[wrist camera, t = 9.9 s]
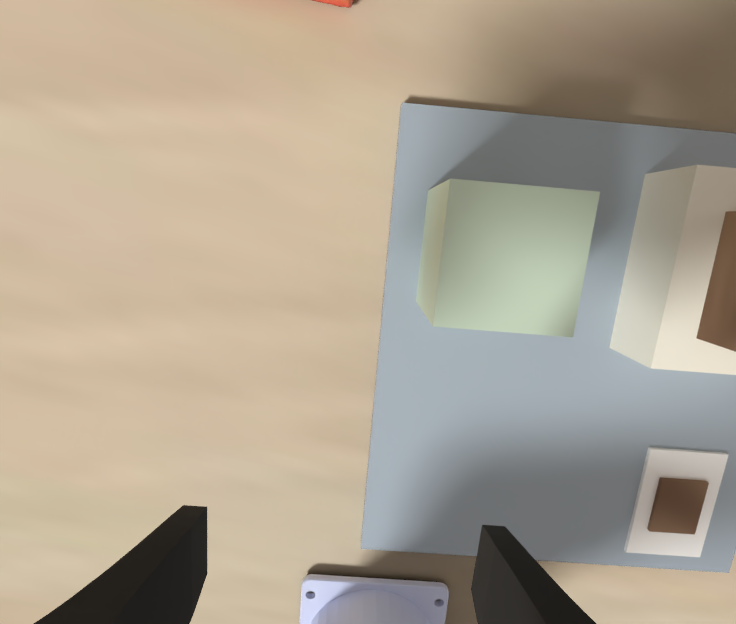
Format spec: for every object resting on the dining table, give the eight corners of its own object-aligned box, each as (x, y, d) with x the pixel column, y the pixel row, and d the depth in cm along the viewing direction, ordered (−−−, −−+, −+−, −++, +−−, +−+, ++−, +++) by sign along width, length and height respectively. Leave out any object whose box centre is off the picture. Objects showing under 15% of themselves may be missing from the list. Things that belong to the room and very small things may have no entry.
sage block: (521, 309, 20) (572, 337, 15) (415, 301, 20) (432, 326, 15) (539, 200, 19) (600, 191, 14) (427, 190, 19) (450, 178, 14)
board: (721, 565, 23) (735, 578, 23) (361, 541, 23) (360, 554, 22) (843, 146, 19) (866, 142, 18) (400, 105, 18) (402, 99, 18)
